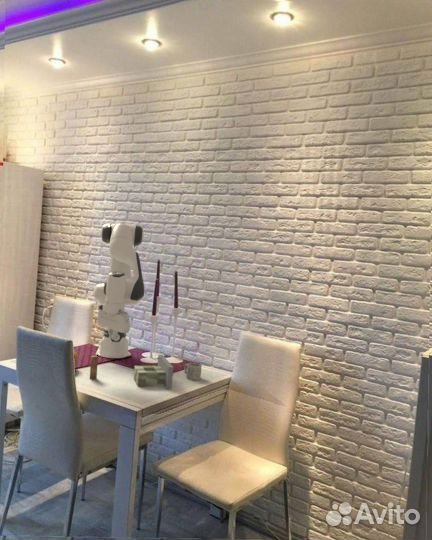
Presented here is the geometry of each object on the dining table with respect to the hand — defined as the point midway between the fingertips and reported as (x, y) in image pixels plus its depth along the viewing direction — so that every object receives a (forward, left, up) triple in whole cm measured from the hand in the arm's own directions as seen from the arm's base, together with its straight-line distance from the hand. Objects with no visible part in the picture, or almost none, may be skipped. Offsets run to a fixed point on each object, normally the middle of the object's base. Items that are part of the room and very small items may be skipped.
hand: (112, 338), depth 217 cm
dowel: (-2, -7, -19) cm, 20 cm away
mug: (-2, +39, -19) cm, 43 cm away
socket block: (+5, +17, -19) cm, 26 cm away
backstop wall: (+5, +24, -19) cm, 31 cm away
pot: (-16, -19, -19) cm, 31 cm away
